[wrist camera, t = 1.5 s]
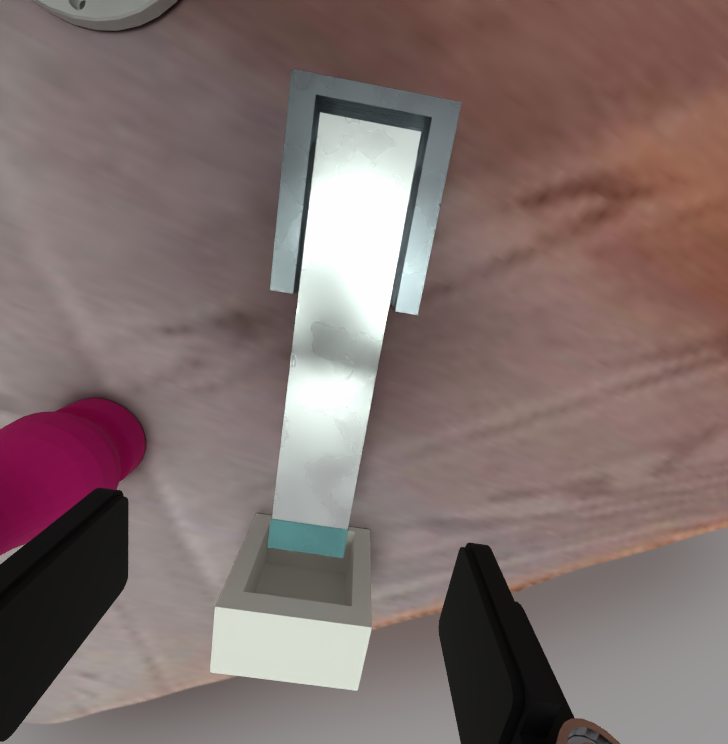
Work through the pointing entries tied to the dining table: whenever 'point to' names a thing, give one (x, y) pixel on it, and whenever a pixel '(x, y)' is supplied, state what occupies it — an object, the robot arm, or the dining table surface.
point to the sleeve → (427, 184)
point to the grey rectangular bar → (339, 326)
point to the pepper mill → (62, 463)
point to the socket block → (295, 613)
